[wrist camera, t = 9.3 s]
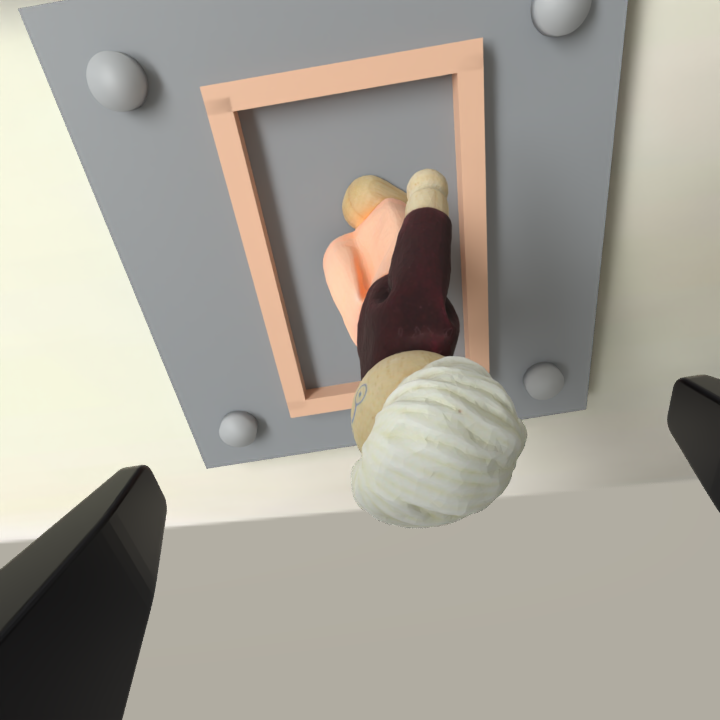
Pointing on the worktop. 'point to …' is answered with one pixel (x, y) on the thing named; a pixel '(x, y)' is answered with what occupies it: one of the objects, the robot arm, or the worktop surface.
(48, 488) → the worktop surface
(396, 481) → the grandmother figurine
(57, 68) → the base plate
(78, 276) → the worktop surface
